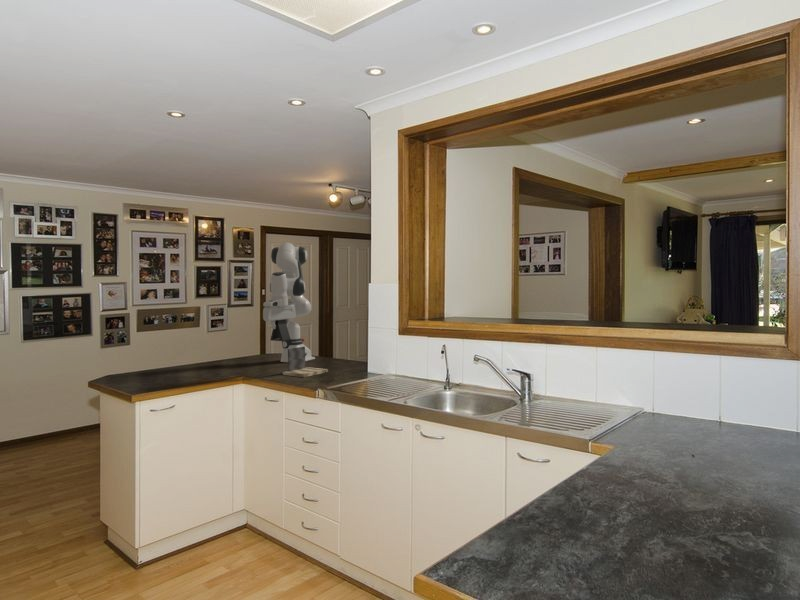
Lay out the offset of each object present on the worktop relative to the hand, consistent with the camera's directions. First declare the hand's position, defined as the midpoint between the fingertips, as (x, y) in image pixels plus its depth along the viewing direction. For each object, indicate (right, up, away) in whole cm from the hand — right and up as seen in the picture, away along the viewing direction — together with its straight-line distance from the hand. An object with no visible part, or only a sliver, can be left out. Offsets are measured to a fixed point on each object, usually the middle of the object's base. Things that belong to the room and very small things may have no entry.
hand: (280, 328), depth 286 cm
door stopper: (0, -7, 0) cm, 7 cm away
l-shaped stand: (+13, -25, +3) cm, 28 cm away
